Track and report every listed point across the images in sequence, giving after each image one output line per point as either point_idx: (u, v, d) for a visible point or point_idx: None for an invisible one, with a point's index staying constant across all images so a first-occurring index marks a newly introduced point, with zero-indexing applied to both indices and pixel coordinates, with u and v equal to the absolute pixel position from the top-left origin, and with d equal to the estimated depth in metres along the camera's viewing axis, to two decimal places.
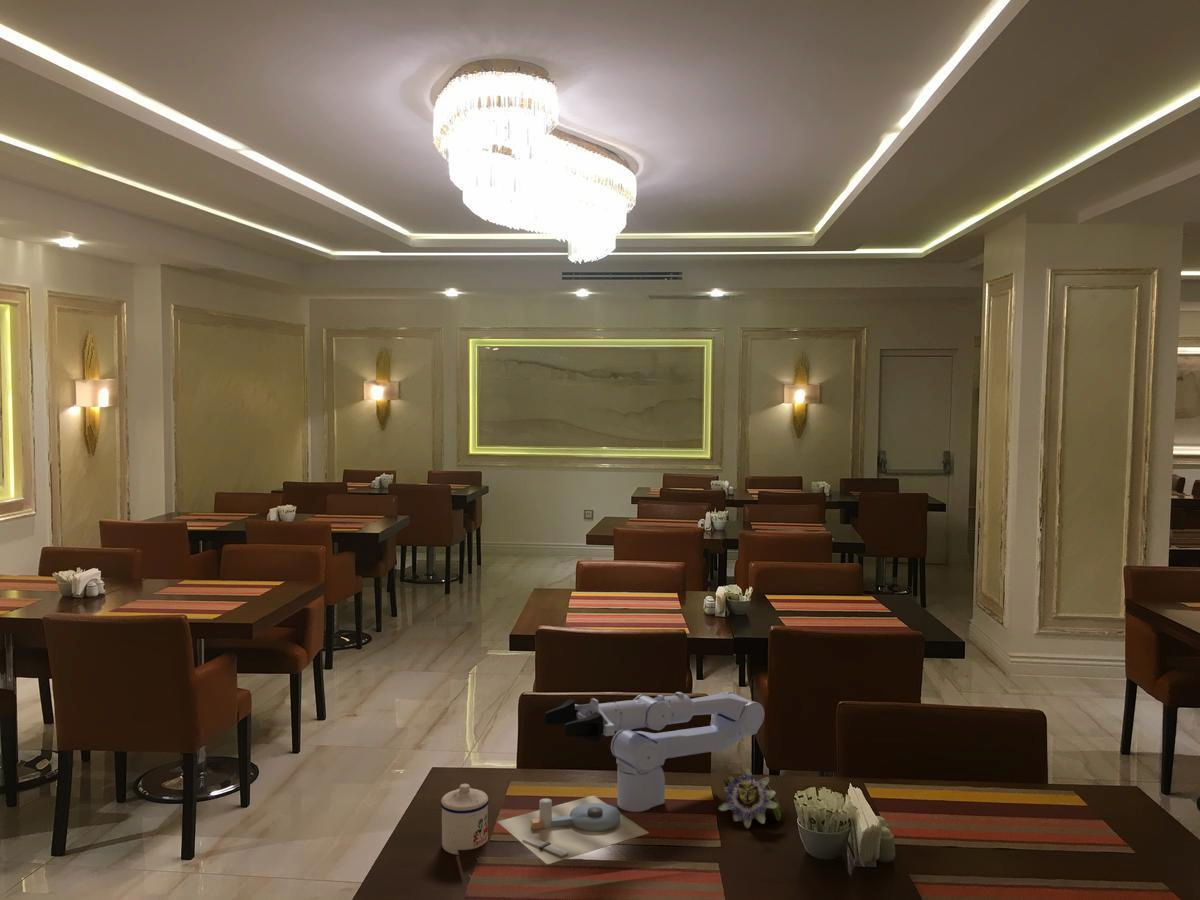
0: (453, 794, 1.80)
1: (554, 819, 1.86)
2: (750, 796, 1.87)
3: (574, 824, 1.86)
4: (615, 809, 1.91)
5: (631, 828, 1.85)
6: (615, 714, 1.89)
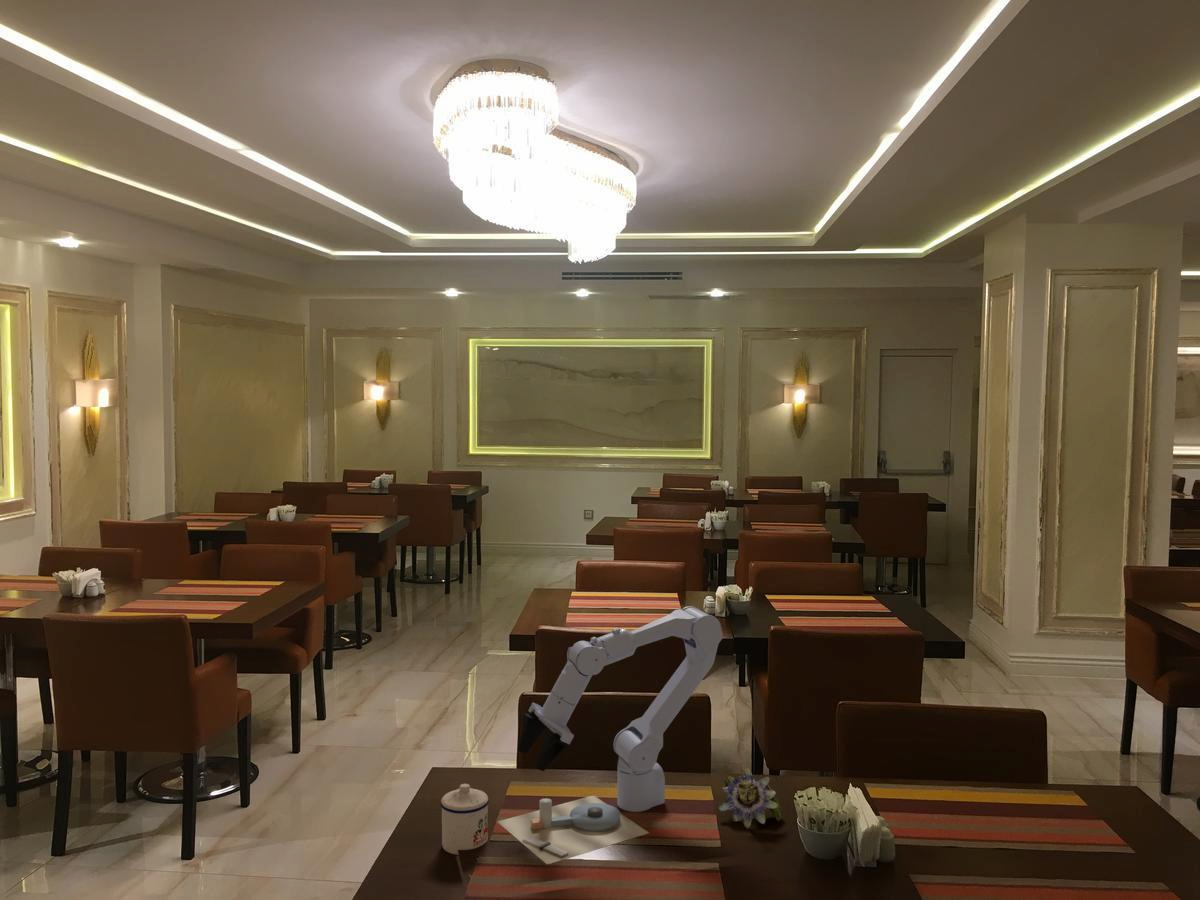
0: (453, 794, 1.80)
1: (554, 819, 1.86)
2: (750, 796, 1.87)
3: (574, 824, 1.86)
4: (615, 809, 1.91)
5: (631, 828, 1.85)
6: (561, 706, 1.87)
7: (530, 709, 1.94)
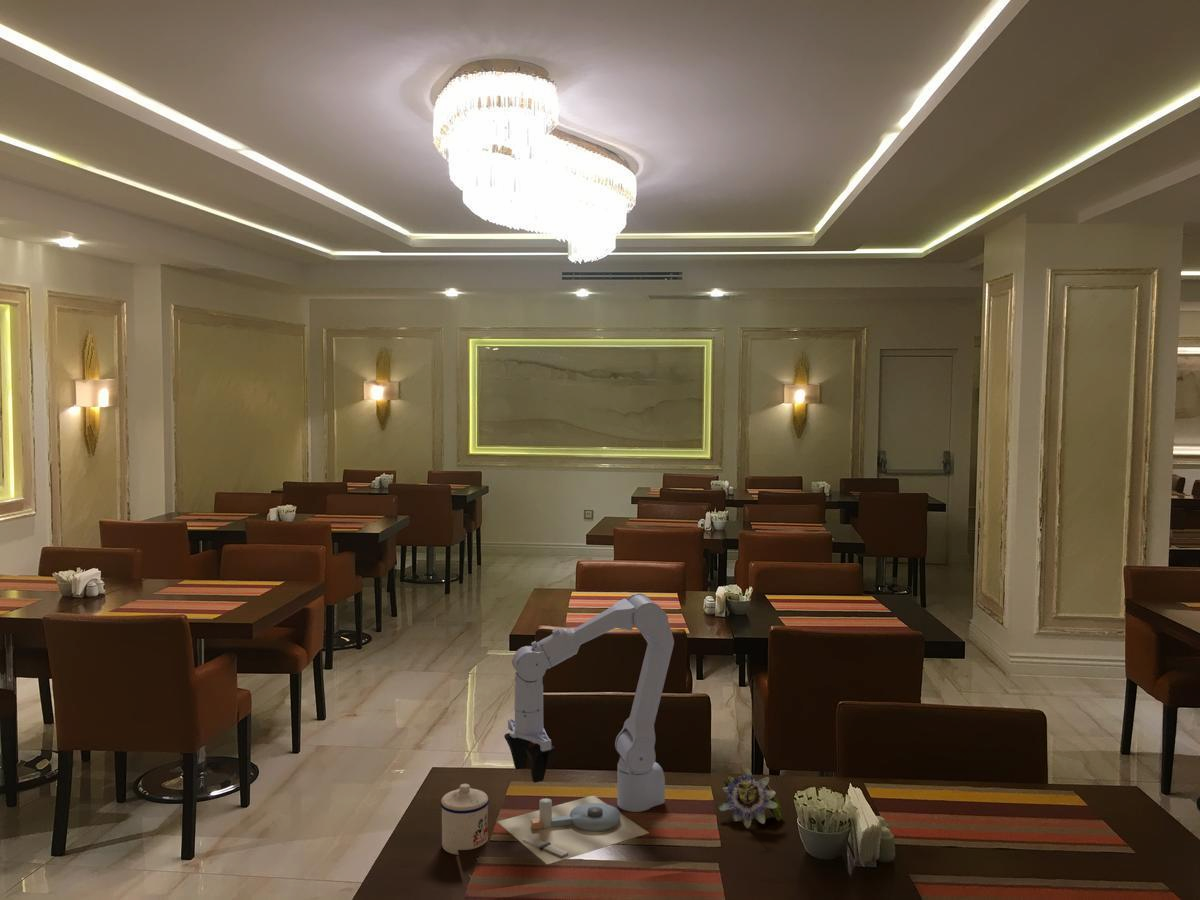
0: (453, 794, 1.80)
1: (554, 819, 1.86)
2: (750, 796, 1.87)
3: (574, 824, 1.86)
4: (615, 809, 1.91)
5: (631, 828, 1.85)
6: (529, 718, 1.87)
7: (509, 727, 1.95)
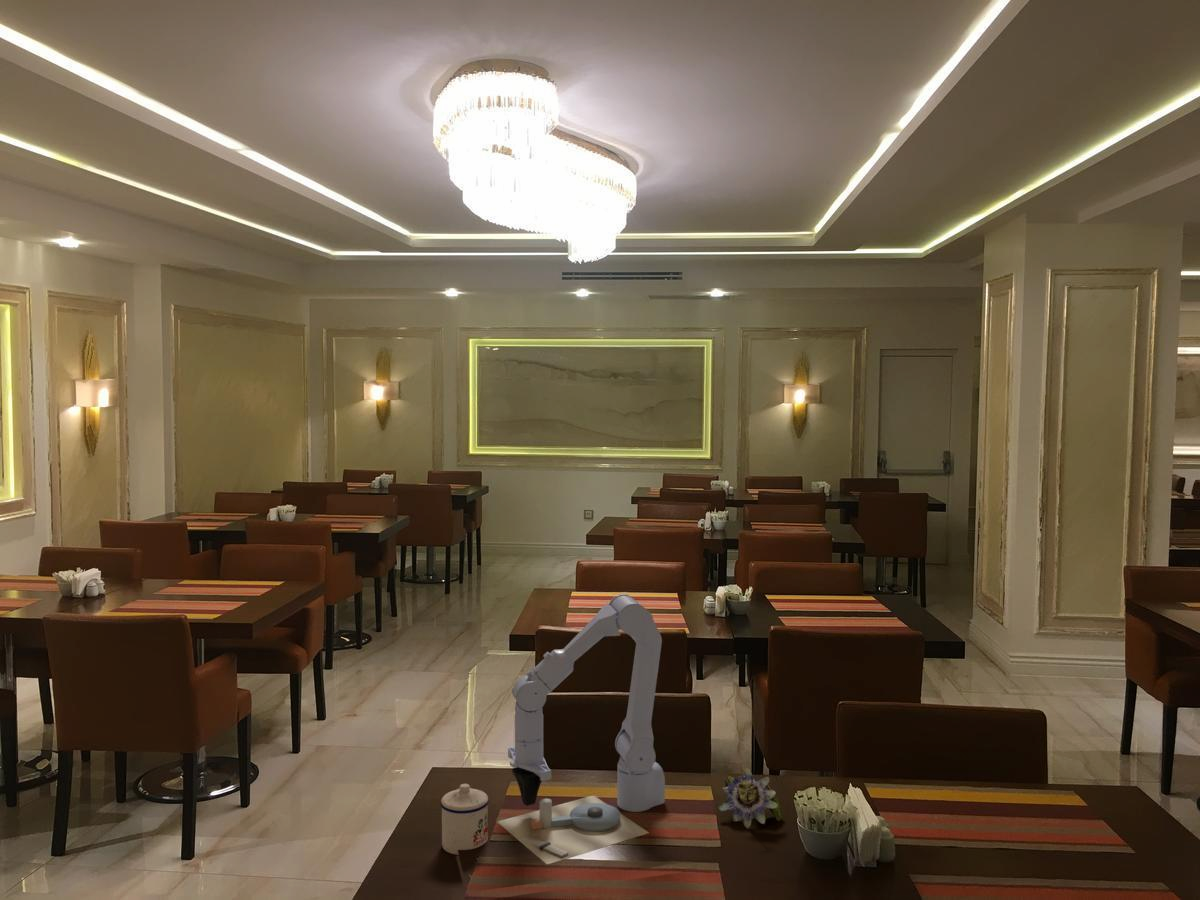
0: (453, 794, 1.80)
1: (554, 819, 1.86)
2: (750, 796, 1.87)
3: (574, 824, 1.86)
4: (615, 809, 1.91)
5: (631, 828, 1.85)
6: (529, 748, 1.88)
7: (509, 755, 1.96)
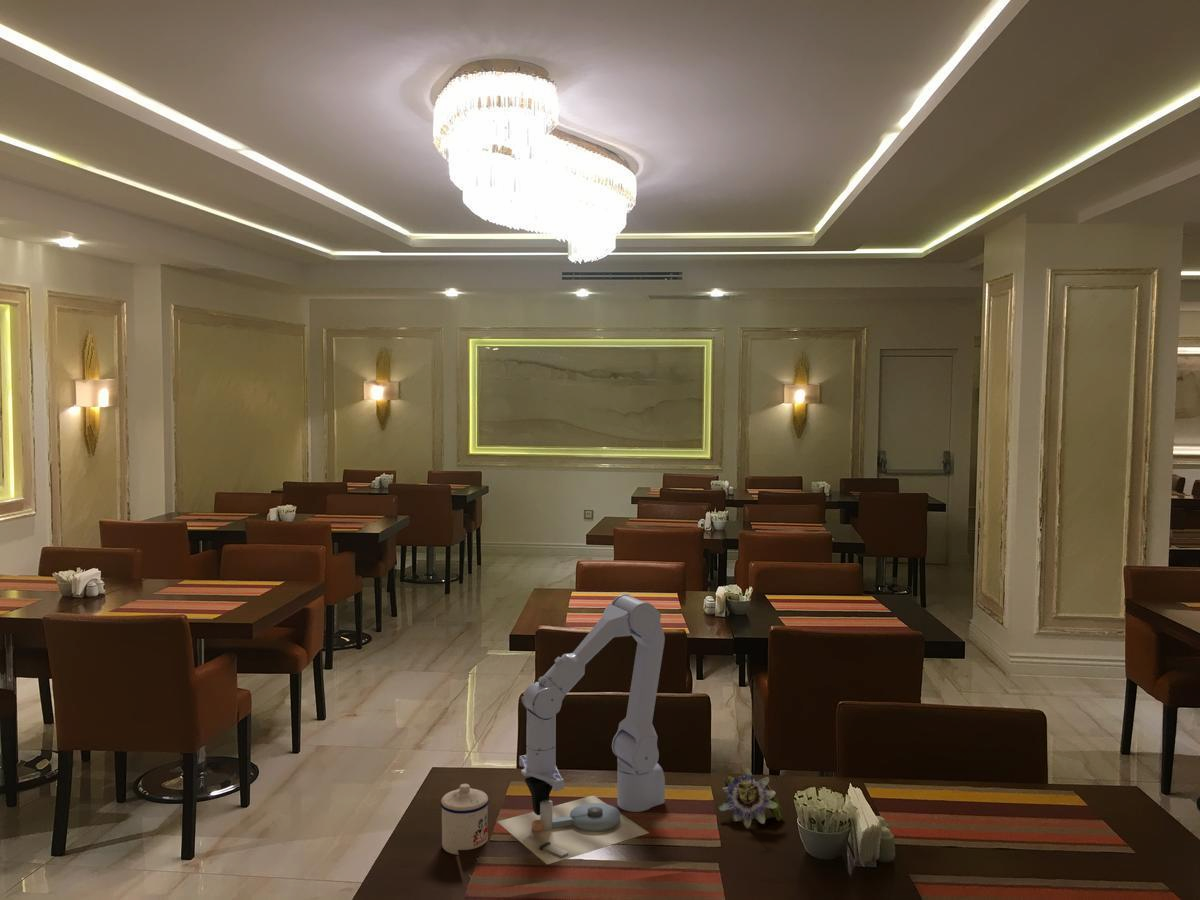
0: (453, 794, 1.80)
1: (555, 820, 1.86)
2: (750, 796, 1.87)
3: (575, 825, 1.85)
4: (614, 808, 1.91)
5: (631, 828, 1.85)
6: (541, 756, 1.83)
7: (520, 763, 1.91)
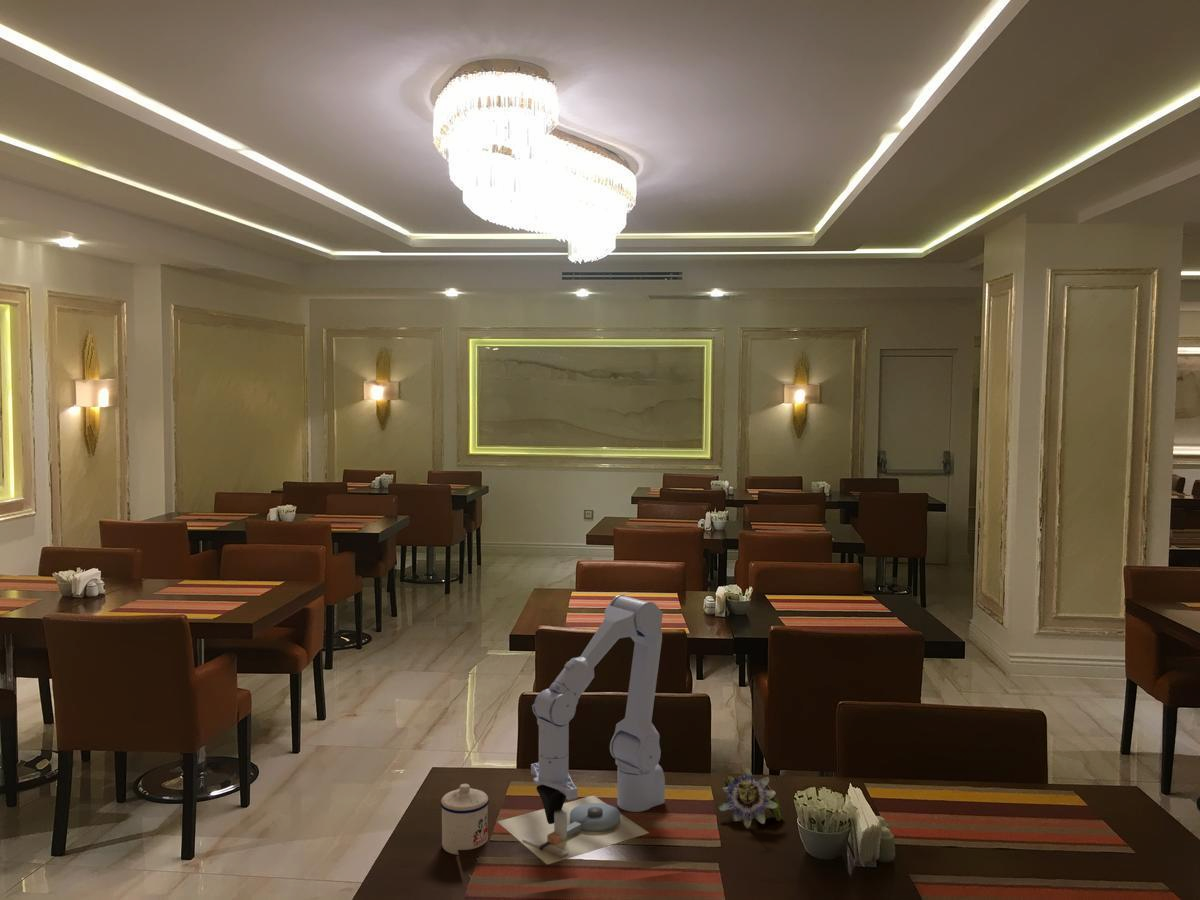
0: (453, 794, 1.80)
1: (567, 828, 1.82)
2: (750, 796, 1.87)
3: (586, 828, 1.84)
4: (606, 805, 1.93)
5: (631, 828, 1.85)
6: (554, 765, 1.79)
7: (532, 771, 1.87)
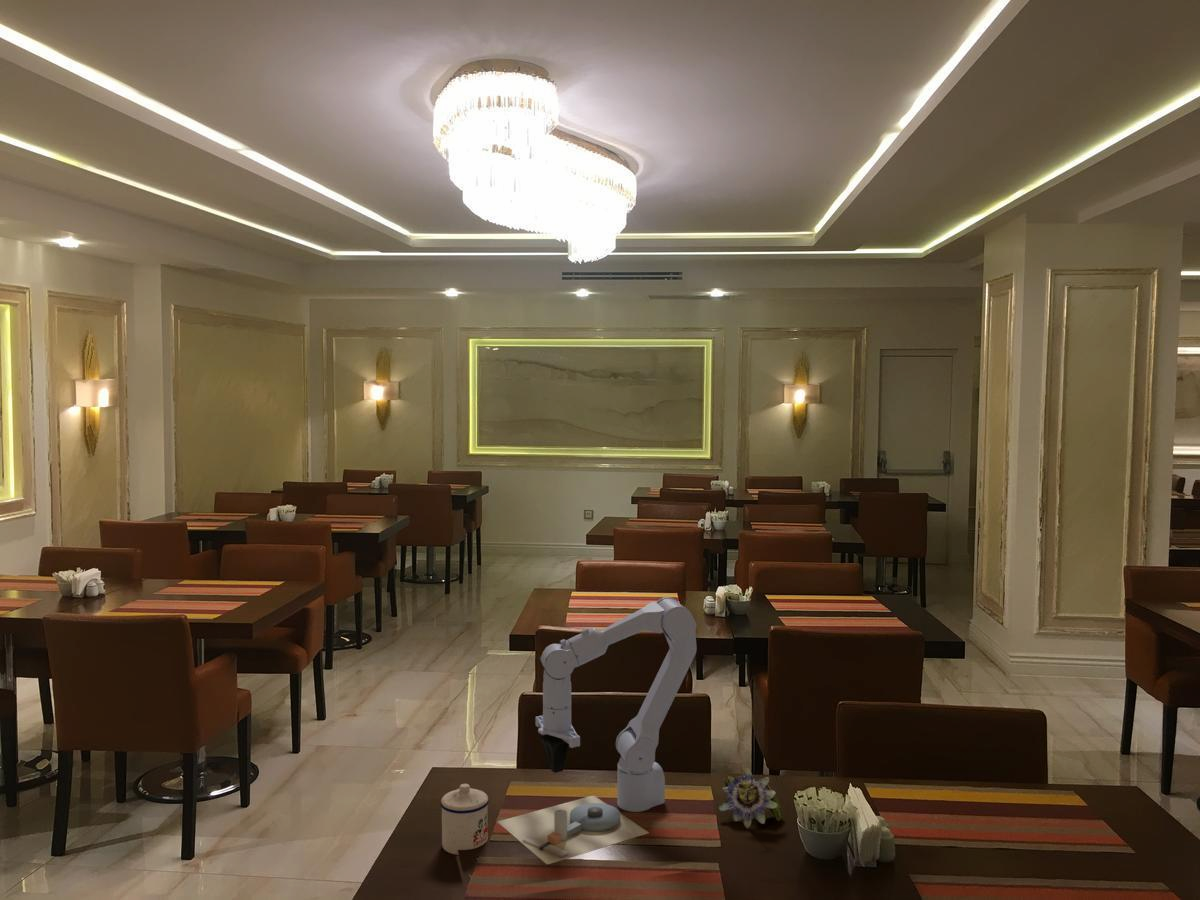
0: (453, 794, 1.80)
1: (567, 828, 1.82)
2: (750, 796, 1.87)
3: (586, 828, 1.84)
4: (606, 805, 1.93)
5: (631, 828, 1.85)
6: (557, 715, 1.89)
7: (536, 724, 1.97)
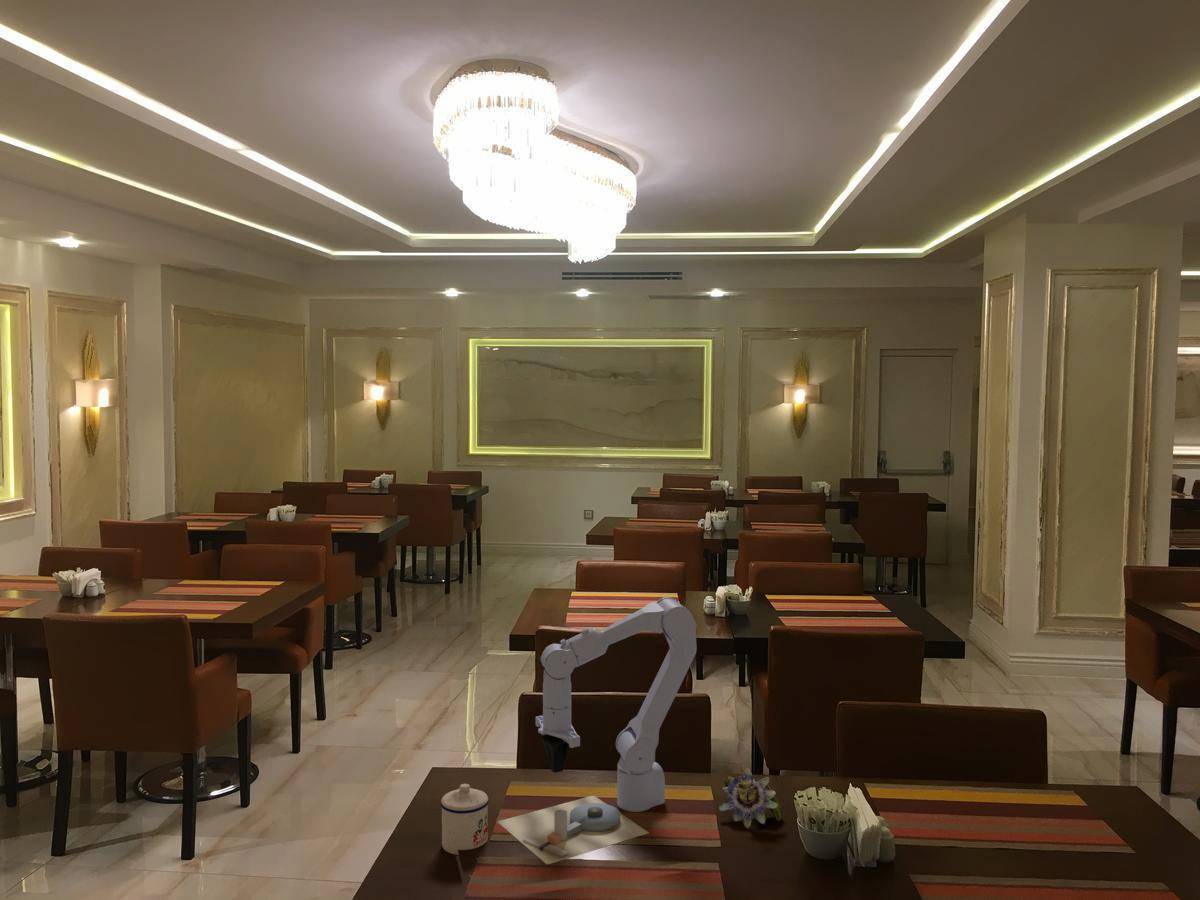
0: (453, 794, 1.80)
1: (567, 828, 1.82)
2: (750, 796, 1.87)
3: (586, 828, 1.84)
4: (606, 805, 1.93)
5: (631, 828, 1.85)
6: (557, 715, 1.89)
7: (536, 724, 1.97)
